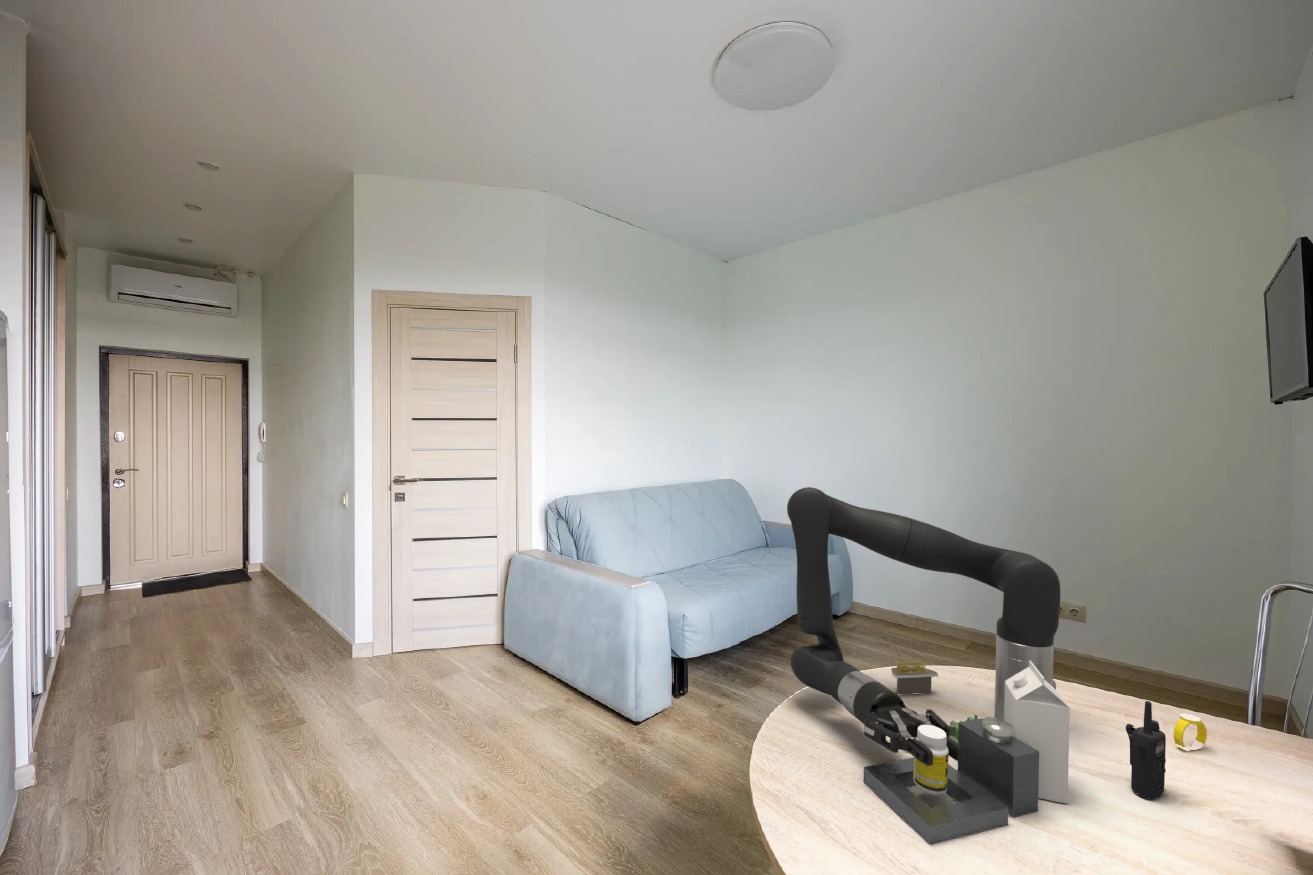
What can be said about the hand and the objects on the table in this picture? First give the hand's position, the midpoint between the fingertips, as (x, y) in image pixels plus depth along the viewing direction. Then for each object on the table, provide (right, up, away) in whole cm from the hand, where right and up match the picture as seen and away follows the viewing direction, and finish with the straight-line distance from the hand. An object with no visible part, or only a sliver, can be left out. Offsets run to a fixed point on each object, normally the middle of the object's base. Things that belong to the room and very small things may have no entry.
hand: (945, 756), depth 82 cm
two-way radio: (+35, -9, +6) cm, 36 cm away
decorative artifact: (+14, -9, +16) cm, 23 cm away
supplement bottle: (-1, -6, +3) cm, 7 cm away
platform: (+13, -9, +39) cm, 42 cm away
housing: (+3, -8, +4) cm, 10 cm away
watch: (+54, -9, +18) cm, 58 cm away
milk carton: (+18, -9, +7) cm, 21 cm away
